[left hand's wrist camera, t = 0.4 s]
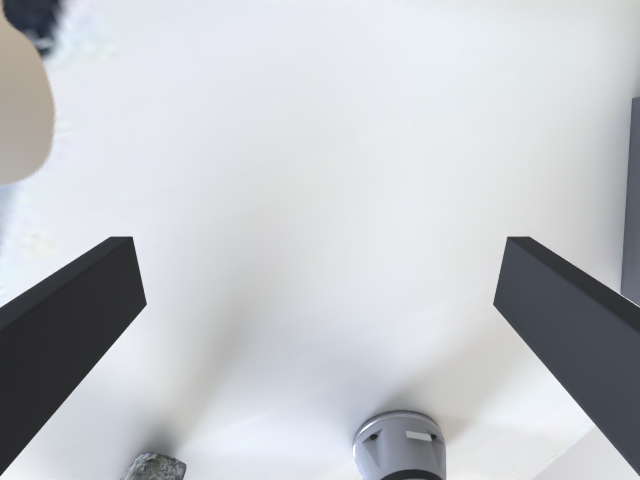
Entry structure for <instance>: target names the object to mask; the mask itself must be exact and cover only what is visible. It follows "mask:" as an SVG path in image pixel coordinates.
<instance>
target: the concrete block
mask: <svg viewBox="0 0 640 480" xmlns="http://www.w3.org/2000/svg"><path fill="white" fill-rule="evenodd" d="M185 471H186V464H185V463H183V462H181V461H179V460H178V459H175V458H171V457H168V456H164V455H161V454H157V453H151V452H150V453H144V454H142V455H140V456H139V457H138V458H137V459H136V460H135V461H134V463H133V464H132V465H130V466H129V467H128V468H127V470H126V472H125V473H124V475H123V477H122V478H121V480H183V478H184V474H185Z"/></svg>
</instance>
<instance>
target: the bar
mask: <svg viewBox="0 0 640 480" xmlns="http://www.w3.org/2000/svg"><path fill="white" fill-rule="evenodd" d="M621 295H623V296H625V297H626V298H628V299H629V300H631V301H632V302H634V303H635V304H637V305H639V306H640V97H637V98H633V99H632V114H631V131H630V148H629V165H628V182H627V198H626V215H625V232H624V249H623V265H622V282H621Z"/></svg>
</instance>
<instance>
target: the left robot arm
mask: <svg viewBox="0 0 640 480" xmlns="http://www.w3.org/2000/svg"><path fill="white" fill-rule="evenodd" d="M146 305H147V303H146V298H145V294H144V289H143V284H142V279H141V275H140V270H139V265H138V260H137V256H136V251H135V246H134V242H133V237H109V238H108V239H106V240H105V241H103V242H102V243H100V244H98V245H97V246H95V247H94V248H92V249H91V250H89V251H88V252H86V253H84V254H83V255H81V256H80V257H78V258H77V259H75V260H74V261H72V262H71V263H69V264H67V265H66V266H64V267H63V268H61V269H60V270H58V271H57V272H55V273H53V274H52V275H50V276H49V277H47V278H46V279H44V280H43V281H41V282H39V283H38V284H36V285H35V286H33V287H32V288H30V289H29V290H27V291H25V292H24V293H22V294H21V295H19V296H18V297H16V298H15V299H13V300H12V301H10V302H8V303H7V304H5V305H4V306H2V307H1V308H0V476H1V475H2V474H3V472H4V471H5V470H6V469H7V468H8V467H9V465H10V464H11V463H12V462H13V461H14V460H15V458H16V457H17V456H18V455H19V454H20V453H21V451H22V450H23V449H24V448H25V447H26V446H27V444H28V443H29V442H30V441H31V440H32V438H33V437H34V436H35V435H36V434H37V433H38V431H39V430H40V429H41V428H42V427H43V426H44V424H45V423H46V422H47V421H48V420H49V419H50V417H51V416H52V415H53V414H54V413H55V412H56V410H57V409H58V408H59V407H60V406H61V405H62V403H63V402H64V401H65V400H66V399H67V397H68V396H69V395H70V394H71V393H72V392H73V390H74V389H75V388H76V387H77V386H78V385H79V383H80V382H81V381H82V380H83V379H84V378H85V376H86V375H87V374H88V373H89V372H90V371H91V369H92V368H93V367H94V366H95V365H96V364H97V362H98V361H99V360H100V359H101V358H102V356H103V355H104V354H105V353H106V352H107V351H108V349H109V348H110V347H111V346H112V345H113V344H114V342H115V341H116V340H117V339H118V338H119V337H120V335H121V334H122V333H123V332H124V331H125V330H126V328H127V327H128V326H129V325H130V324H131V323H132V321H133V320H134V319H135V318H136V317H137V315H138V314H139V313H140V312H141V311H142V310H143V308H144V307H145V306H146ZM493 305H494V306H495V307H496V308H497V310H498V311H499V312H500V313H501V314H502V316H503V317H504V318H505V319H506V320H507V321H508V323H509V324H510V325H511V326H512V327H513V328H514V330H515V331H516V332H517V333H518V334H519V335H520V337H521V338H522V339H523V340H524V341H525V342H526V344H527V345H528V346H529V347H530V348H531V349H532V351H533V352H534V353H535V354H536V355H537V356H538V358H539V359H540V360H541V361H542V362H543V364H544V365H545V366H546V367H547V368H548V369H549V371H550V372H551V373H552V374H553V375H554V376H555V378H556V379H557V380H558V381H559V382H560V383H561V385H562V386H563V387H564V388H565V389H566V390H567V392H568V393H569V394H570V395H571V396H572V397H573V399H574V400H575V401H576V402H577V403H578V405H579V406H580V407H581V408H582V409H583V410H584V412H585V413H586V414H587V415H588V416H589V417H590V419H591V420H592V421H593V422H594V423H595V424H596V426H597V427H598V428H599V429H600V430H601V431H602V433H603V434H604V435H605V436H606V437H607V438H608V440H609V441H610V442H611V443H612V444H613V445H614V447H615V448H616V449H617V450H618V451H619V453H620V454H621V455H622V456H623V457H624V458H625V460H626V461H627V462H628V463H629V464H630V465H631V467H632V468H633V469H634V470H635V471H636V472H637V473H638V475H639V476H640V308H639V307H638V306H636V305H635V304H633V303H632V302H630V301H628V300H627V299H625V298H624V297H622V296H621V295H619V294H618V293H616V292H615V291H613V290H611V289H610V288H608V287H607V286H605V285H604V284H602V283H601V282H599V281H597V280H596V279H594V278H593V277H591V276H590V275H588V274H587V273H585V272H583V271H582V270H580V269H579V268H577V267H576V266H574V265H573V264H571V263H569V262H568V261H566V260H565V259H563V258H562V257H560V256H559V255H557V254H556V253H554V252H552V251H551V250H549V249H548V248H546V247H545V246H543V245H542V244H540V243H538V242H537V241H535V240H534V239H532V238H531V237H507V242H506V246H505V251H504V256H503V260H502V265H501V270H500V275H499V279H498V284H497V289H496V294H495V298H494V303H493ZM353 450H354V457H355V461H356V465H357V467H358V469H359V472H360V474H361V476H362V478H363V480H446V448H445V443H444V439H443V436H442V433H441V431H440V429H439V427H438V426H437V425H436V423H435V422H434V421H432V420H431V419H430V418H428V417H426V416H424V415H422V414H419V413H416V412H411V411H392V412H387V413H383V414H380V415H378V416H375V417H373V418H372V419H370V420H368V421H367V422H366V423H364V424H363V425H362V426H361V427H360V428H359V430H358V431H357V433H356V435H355V437H354V441H353Z"/></svg>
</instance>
